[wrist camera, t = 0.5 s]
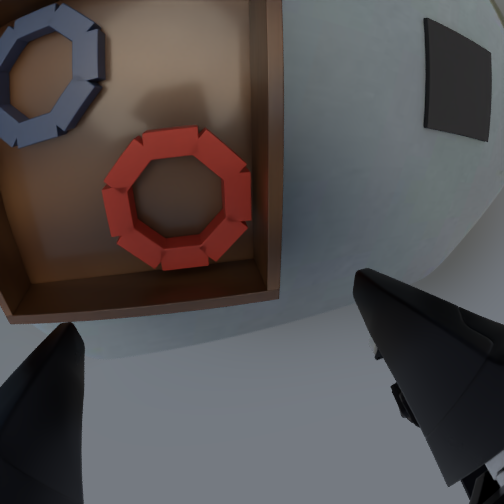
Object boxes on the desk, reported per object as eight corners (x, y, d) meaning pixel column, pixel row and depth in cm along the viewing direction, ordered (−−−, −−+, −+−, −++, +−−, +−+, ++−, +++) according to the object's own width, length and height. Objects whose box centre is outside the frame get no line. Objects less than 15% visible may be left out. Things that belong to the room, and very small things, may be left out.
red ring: (247, 249, 21) (252, 260, 20) (125, 263, 19) (121, 276, 18) (244, 121, 17) (249, 123, 15) (101, 138, 15) (93, 142, 14)
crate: (262, 262, 22) (279, 299, 18) (30, 288, 19) (10, 324, 15) (258, -32, 12) (278, -62, 8) (-14, 29, 8) (-49, 24, 4)
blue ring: (109, 124, 15) (101, 126, 13) (-1, 155, 13) (-13, 160, 12) (106, -5, 10) (100, -12, 9) (-6, 39, 9) (-18, 37, 8)
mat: (484, 140, 21) (488, 142, 21) (423, 127, 19) (427, 128, 19) (487, 52, 16) (490, 52, 16) (423, 18, 14) (427, 17, 14)
